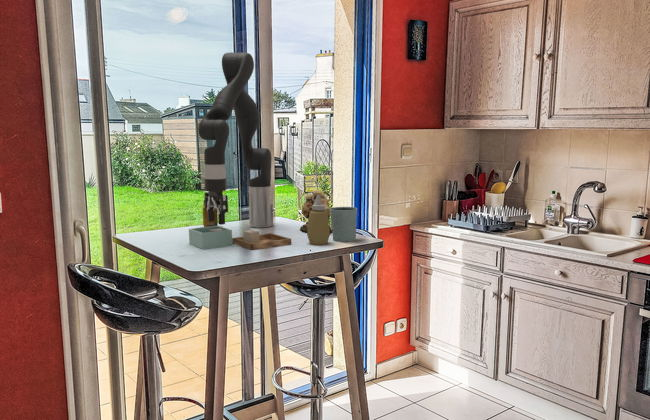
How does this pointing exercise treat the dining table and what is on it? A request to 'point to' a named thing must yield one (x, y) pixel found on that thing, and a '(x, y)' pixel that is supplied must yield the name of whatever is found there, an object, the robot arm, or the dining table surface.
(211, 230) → the grey brown block
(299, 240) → the dining table surface
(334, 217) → the grey green cup
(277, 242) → the walnut tray
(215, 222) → the condiment
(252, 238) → the beige matte cube
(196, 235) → the teal bin
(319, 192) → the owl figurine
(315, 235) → the squeeze bottle
